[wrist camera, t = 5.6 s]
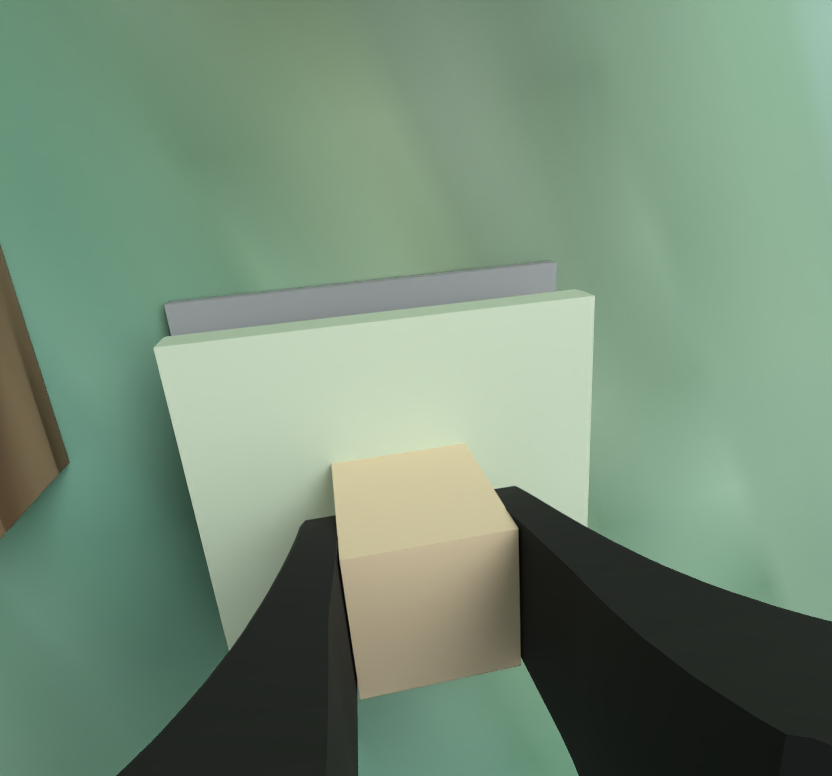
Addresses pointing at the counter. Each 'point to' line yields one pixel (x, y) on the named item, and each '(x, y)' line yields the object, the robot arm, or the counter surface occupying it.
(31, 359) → the walnut box
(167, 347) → the lid
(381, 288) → the rubber mat
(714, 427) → the counter surface
